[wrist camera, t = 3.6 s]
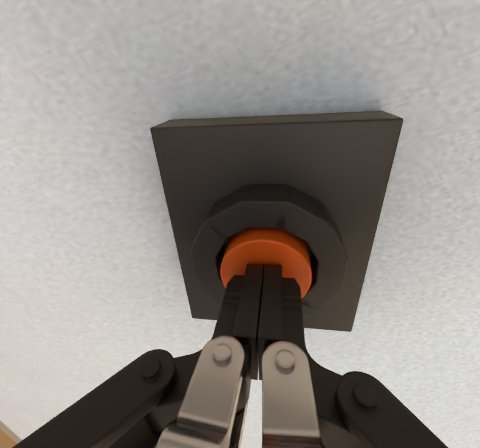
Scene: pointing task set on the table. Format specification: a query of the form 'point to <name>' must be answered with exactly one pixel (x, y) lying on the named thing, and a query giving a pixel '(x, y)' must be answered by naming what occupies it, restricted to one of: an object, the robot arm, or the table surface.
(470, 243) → the table surface
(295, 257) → the button
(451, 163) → the table surface
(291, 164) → the housing
